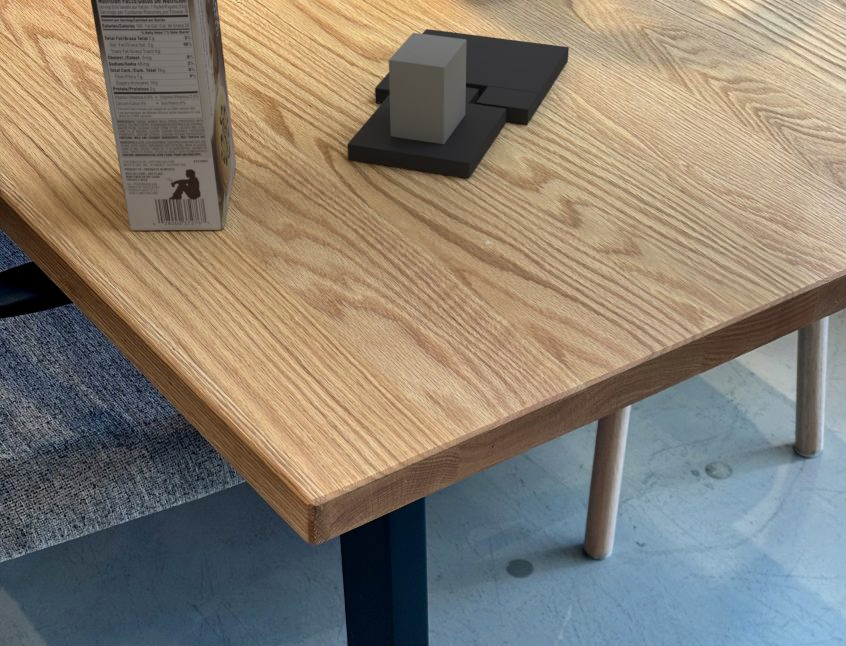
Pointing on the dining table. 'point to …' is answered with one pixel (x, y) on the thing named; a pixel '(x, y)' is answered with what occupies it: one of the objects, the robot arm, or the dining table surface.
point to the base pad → (504, 73)
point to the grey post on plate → (429, 113)
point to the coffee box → (168, 110)
